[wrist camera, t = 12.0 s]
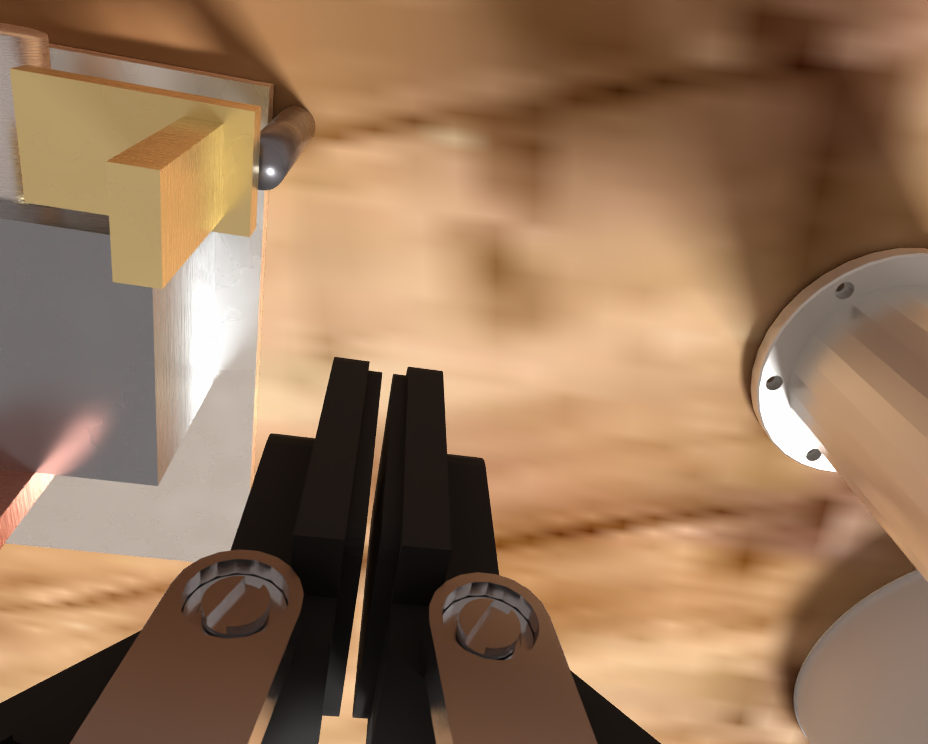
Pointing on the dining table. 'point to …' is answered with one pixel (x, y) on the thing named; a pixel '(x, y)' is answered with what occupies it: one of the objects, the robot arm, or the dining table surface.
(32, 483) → the lynch pin
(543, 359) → the dining table surface
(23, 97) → the plate
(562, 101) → the dining table surface
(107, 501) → the hitch block
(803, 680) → the kettle
